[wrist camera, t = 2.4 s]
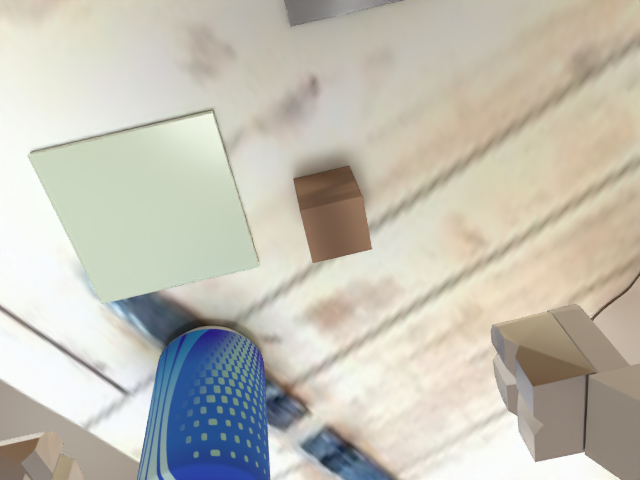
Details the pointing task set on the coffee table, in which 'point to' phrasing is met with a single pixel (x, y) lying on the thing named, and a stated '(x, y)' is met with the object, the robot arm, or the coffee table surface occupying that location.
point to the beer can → (207, 410)
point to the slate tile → (326, 8)
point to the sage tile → (149, 206)
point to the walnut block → (332, 214)
